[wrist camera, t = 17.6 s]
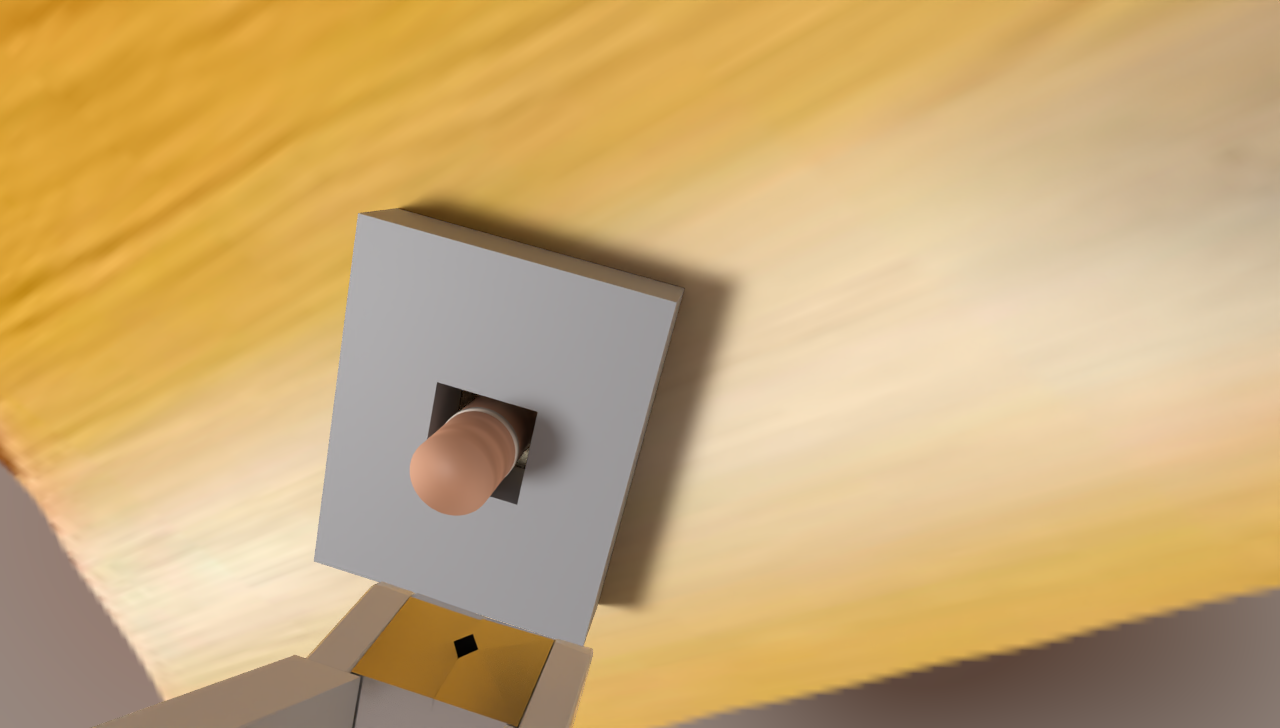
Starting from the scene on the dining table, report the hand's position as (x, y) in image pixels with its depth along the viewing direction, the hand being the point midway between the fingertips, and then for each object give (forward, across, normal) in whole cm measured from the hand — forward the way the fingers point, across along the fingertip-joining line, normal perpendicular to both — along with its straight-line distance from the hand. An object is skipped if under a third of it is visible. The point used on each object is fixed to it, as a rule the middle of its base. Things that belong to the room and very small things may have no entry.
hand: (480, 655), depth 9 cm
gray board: (+29, +8, +10) cm, 32 cm away
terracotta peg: (+29, +8, +10) cm, 32 cm away
